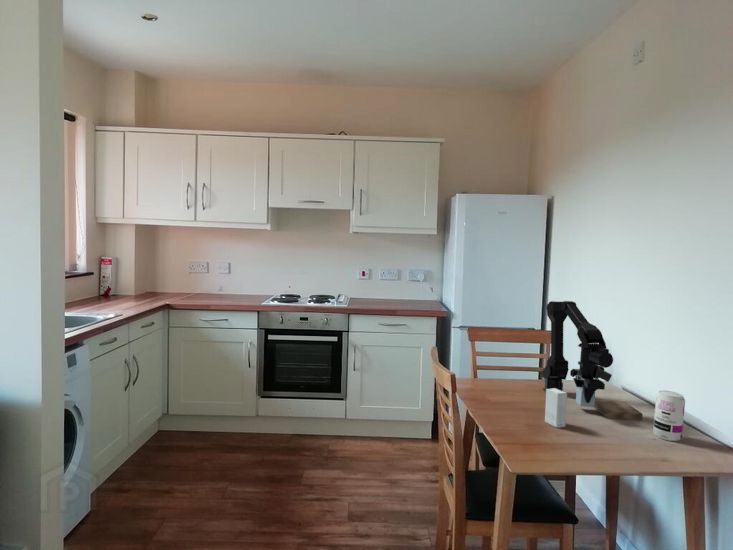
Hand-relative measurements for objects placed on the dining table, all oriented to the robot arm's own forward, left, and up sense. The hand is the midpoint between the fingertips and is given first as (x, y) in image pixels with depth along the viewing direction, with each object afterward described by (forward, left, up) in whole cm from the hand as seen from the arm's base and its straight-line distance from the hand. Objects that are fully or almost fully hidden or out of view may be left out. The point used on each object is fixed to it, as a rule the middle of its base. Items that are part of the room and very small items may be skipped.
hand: (585, 400), depth 182 cm
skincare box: (-17, -18, -4) cm, 25 cm away
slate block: (0, 0, -2) cm, 2 cm away
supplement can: (+19, -22, -4) cm, 29 cm away
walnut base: (+12, 0, -4) cm, 13 cm away
